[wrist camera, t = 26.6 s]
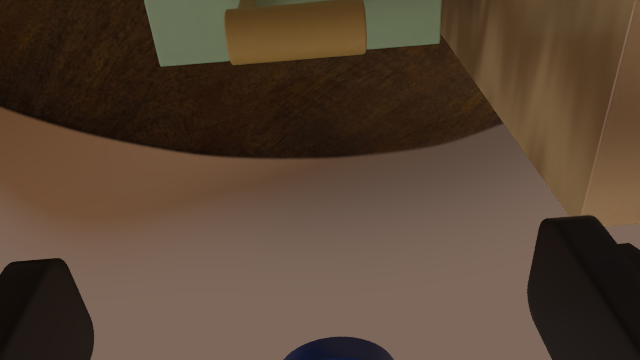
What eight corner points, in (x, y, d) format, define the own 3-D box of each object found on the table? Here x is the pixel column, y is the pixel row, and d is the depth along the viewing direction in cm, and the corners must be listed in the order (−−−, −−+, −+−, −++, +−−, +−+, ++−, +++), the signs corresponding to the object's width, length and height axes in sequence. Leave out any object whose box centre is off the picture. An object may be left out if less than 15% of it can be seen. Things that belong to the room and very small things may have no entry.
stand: (563, 16, 34) (830, 208, 17) (435, 26, 34) (577, 229, 17) (590, -132, 29) (985, -66, 13) (442, -120, 29) (644, -38, 13)
